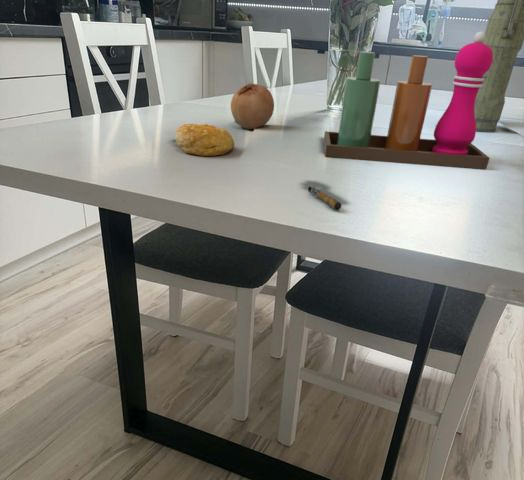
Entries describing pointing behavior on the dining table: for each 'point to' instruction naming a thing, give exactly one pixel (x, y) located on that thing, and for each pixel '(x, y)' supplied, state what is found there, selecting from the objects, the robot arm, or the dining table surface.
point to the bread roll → (204, 139)
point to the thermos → (499, 61)
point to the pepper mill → (463, 98)
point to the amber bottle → (409, 108)
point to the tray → (404, 153)
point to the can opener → (325, 198)
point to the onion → (252, 106)
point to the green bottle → (359, 104)
